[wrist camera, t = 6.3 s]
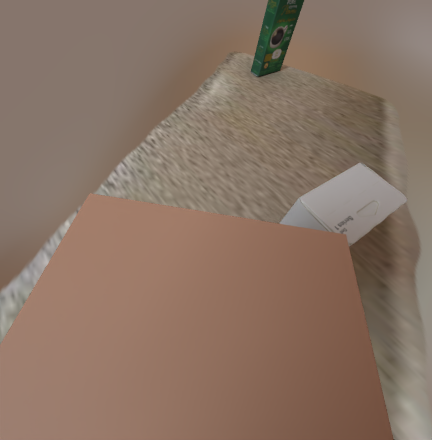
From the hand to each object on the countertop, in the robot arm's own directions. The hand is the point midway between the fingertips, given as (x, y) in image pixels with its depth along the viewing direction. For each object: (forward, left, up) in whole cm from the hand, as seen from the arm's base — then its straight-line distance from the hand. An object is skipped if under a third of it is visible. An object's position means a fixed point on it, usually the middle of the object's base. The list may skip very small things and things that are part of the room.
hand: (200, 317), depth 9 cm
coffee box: (+57, -8, -14) cm, 59 cm away
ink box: (+10, -11, -14) cm, 20 cm away
